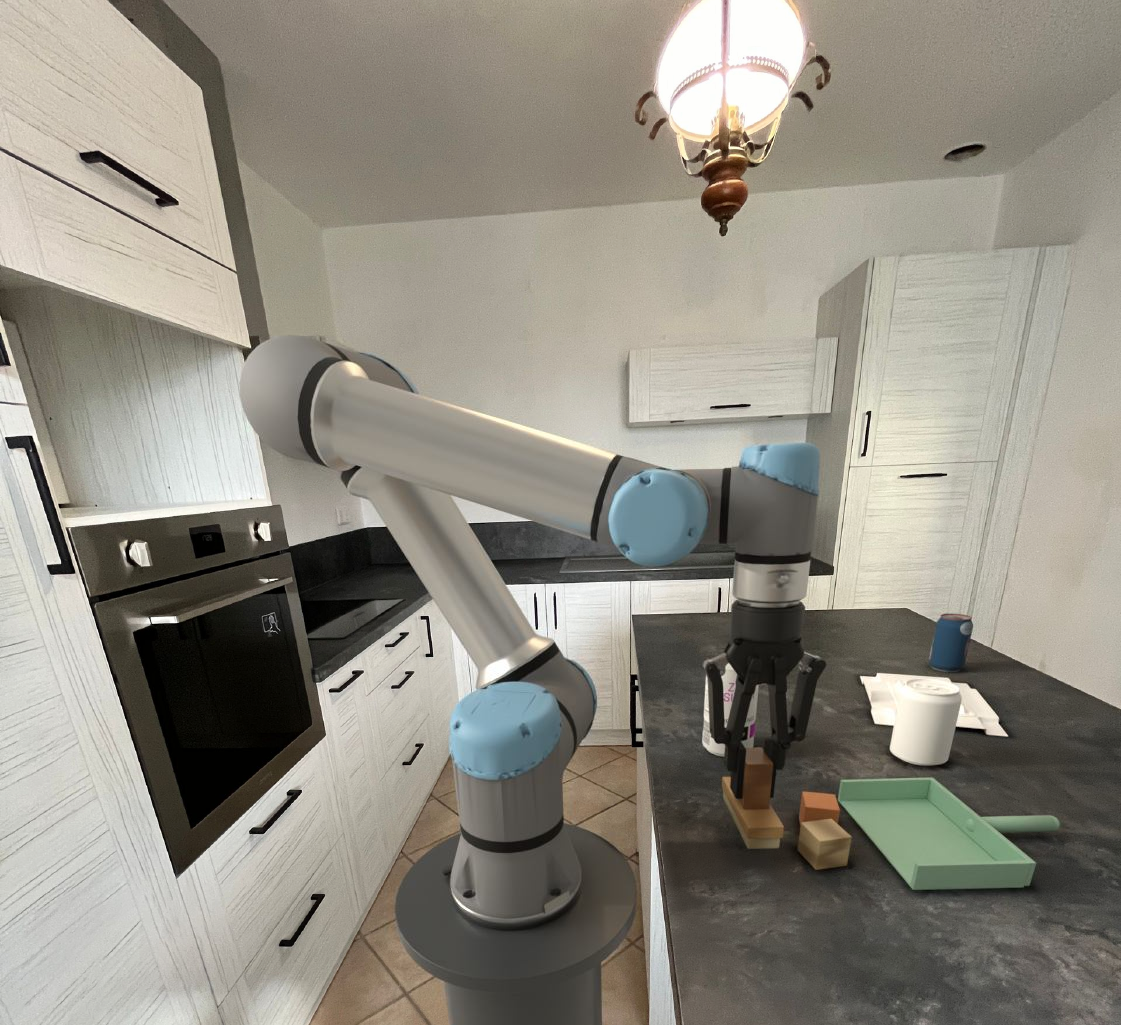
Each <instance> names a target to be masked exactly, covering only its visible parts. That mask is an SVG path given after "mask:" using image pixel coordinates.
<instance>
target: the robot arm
mask: <svg viewBox="0 0 1121 1025" xmlns="http://www.w3.org/2000/svg"><path fill="white" fill-rule="evenodd" d="M239 398H240V402H241V407H242V409H243V410H242V411H243V413H244V416H245V417H246V419H247V421H248V422H249V424H250V427H251V429H253V431H254V432H255V433H256V435H257V436H258V437H259V438H260V439H261V440H262V441H263V442H264V443H265V444H266V445H267V446H269V447H270V448H271V449H273V450H274V451H276V452H277V453H279V454H281V455H282V456H285V457H287V458H290V459H294V460H298V461H303V462H306V463H307V462H309V463H311V464H315V465H319V466H322V467H325V468H328V469H331V470H333V471H335V473H336V474H337V476H338V478H339V479H340V481H341V482H342V483H343V485H344V486H345V488H346V489H347V491H348V493H349V494H350V495H352V496H354V497H357V498H361V499H365V500H368V501H369V502H370V504H371V505H372V506H373V508H374V509H375V511H376V512H377V514H378V515H379V517H380V519H381V520H382V522H383V523H384V525H385V526H386V528H387V529H388V532H389V533H390V534H391V536H392V537H393V539H394V541H395V542H396V544H397V546H398V547H399V548H400V550H401V552H402V553H403V554H404V556H405V557H406V558H405V559H407V561H408V562H409V564H410V565H411V567H412V569H413V570H414V571H415V573H416V575H417V577H418V578H419V579H420V581H421V583H422V584H423V586H424V587H425V589H426V590H427V592H428V594H429V595H430V596H431V598H432V600H433V601H434V603H435V605H436V606H437V608H438V609H439V611H440V613H441V614H442V616H443V617H444V619H445V620H446V622H447V623H448V625H449V626H450V629H451V630H452V631H453V633H454V634H455V636H456V637H457V639H458V640H459V642H460V644H461V645H462V647H463V648H464V650H465V651H466V653H467V654H468V657H469V658H470V659H471V661H472V662H473V665H475V667H476V668H477V677H476V681H475V686H474V687H475V690H473V691H471V692H470V693H468V694H467V695H466V696H464V697H462V698H461V700H459V701H458V703H457V704H456V705H455V707H454V708H453V709H452V711H451V715H450V719H449V738H448V746H449V753H450V757H451V762H452V770H453V779H454V786H455V795H456V804H457V805H456V806H457V812H458V820H459V829H460V833H461V837H460V840H459V844H458V848H457V852H456V856H455V860H454V864H452V865H450V866H448V867H445V868H443V870H442V871H443V874H444V875H445V876H447V875H449V874H451V878H450V886H451V894H452V900H453V903H454V905H455V907H456V909H457V910H458V911H459V913H460V914H461V915H462V916H463V917H465V918H466V919H467V920H469V921H471V922H472V923H474V924H477V925H479V926H482V927H485V928H489V929H494V930H503V931H516V930H525V929H530V928H534V927H538V926H541V925H544V924H547V923H549V922H551V921H553V920H555V919H557V918H558V917H560V916H561V915H563V914H564V913H565V912H567V911H568V910H569V909H570V908H571V907H572V906H573V904H574V903H575V902H576V900H577V899H578V897H579V894H580V891H581V887H582V876H581V866H580V863H579V859H578V857H577V855H576V852H575V850H574V847H573V845H572V843H571V840H570V838H569V835H568V833H567V831H566V828H565V826H564V823H565V821H564V820H565V818H564V789H563V787H564V786H563V780H564V773H565V771H566V769H567V767H568V765H569V764H570V762H571V761H572V759H573V757H574V755H575V753H576V752H577V750H578V749H579V747H580V745H581V743H582V741H583V740H584V739H585V738H587V736H588V734H589V733H590V731H591V729H592V727H593V724H594V720H595V716H596V713H597V707H598V694H597V689H596V686H595V683H594V682H593V679H592V677H591V675H590V674H589V673H588V671H587V670H586V669H585V667H583V665H581V664H579V662H577V661H575V660H573V659H570V658H568V657H565V655H564V654H563V653H562V651H561V649H560V648H559V646H558V645H557V643H556V641H555V640H554V639H553V638H551V637H546V636H543V635H540V634H538V633H536V631H535V630H534V628H533V627H532V625H531V624H530V622H529V620H528V618H527V617H526V615H525V613H524V612H523V610H522V609H521V607H520V605H519V604H518V603H517V600H516V599H515V597H514V596H513V594H512V592H511V591H510V589H509V588H508V586H507V584H506V583H505V581H504V580H503V578H502V576H501V575H500V573H499V571H498V569H497V568H496V566H495V565H494V563H493V562H492V560H491V558H490V556H489V554H487V552H486V550H485V548H484V546H483V545H482V543H481V542H480V540H479V539H478V537H477V535H476V534H475V533H474V530H473V529H472V528H471V526H470V524H469V523H468V520H467V519H466V517H465V515H464V514H463V513H462V511H461V510H460V507H459V506H458V504H457V503H456V502H455V500H454V498H455V497H456V498H458V499H462V500H465V501H468V502H472V503H475V504H477V505H480V506H484V507H487V508H491V509H492V510H493V509H494V510H497V511H499V512H503V513H506V514H509V515H512V516H515V517H519V518H522V519H524V520H528V521H531V522H535V523H537V524H541V525H544V526H547V527H550V528H553V529H557V530H560V531H563V532H566V533H568V534H572V535H575V536H579V537H581V538H584V539H587V540H591V541H593V542H595V543H598V544H601V545H603V546H607V547H610V548H613V549H615V550H618V551H619V552H620V554H622V555H623V556H624V557H625V558H627V559H628V560H629V561H630V562H632V563H635V564H637V565H640V566H642V567H643V566H644V567H649V568H656V567H665V566H668V565H671V564H673V563H675V562H677V561H680V560H682V559H683V558H686V557H687V556H688V555H689V554H691V552H692V551H694V550H695V549H696V548H697V546H698V545H715V544H719V545H727V544H734V545H735V546H734V547H735V548H734V549H735V551H734V564H733V565H734V566H733V578H732V592H731V595H732V596H733V597H734V598H735V599H736V600H734V601H733V603H731V607H730V621H729V622H730V624H729V639H728V642H727V643H726V645H725V647H724V649H723V653H721V654H719V655H716V656H715V657H712V658H710V657H707V656H706V657H704V658H702V659H701V666H702V668H703V670H704V672H705V676H706V675H707V678H708V702H709V726H710V734H711V736H712V737H713V739H714V741H715V742H716V743H717V744H725V754H724V757H723V763H724V766H725V768H726V770H727V772H731V773H730V777H731V782H730V788H731V790H732V792H733V794H734V796H735V798H736V799H742V793H743V781H744V768H745V759H746V748H745V747H744V745H743V744H742V742H741V739H742V735H743V731H744V727H745V723H746V718H747V714H748V710H749V706H750V702H751V698H752V695H753V694H754V693H755V689H756V685H759V686H760V685H763V684H765V685H766V686H767V689H768V705H769V718H770V721H769V722H770V733H771V737H772V738H764V742H763V743H764V744H763V750H764V752H765V753H766V754H767V756H768V757H769V759H770V760H771V761H772V763H773V772H772V781H771V791H770V799H773V798H774V797H775V789H776V788H775V787H776V778H777V771H780V770H781V771H782V770H783V769H784V768H785V766H786V765H785V764H786V756H787V750H789V749H790V748H791V747H792V743H793V742H802V741H804V740H805V738H806V734H807V730H808V724H809V721H810V716H811V712H812V707H813V702H814V697H815V693H816V689H817V684H818V681H819V679H820V678H821V675H822V674H823V672H824V670H825V669H826V667H827V662H826V661H825V660H824V659H823V658H822V657H820V656H819V655H817V654H816V653H809V652H806V651H805V648H804V645H803V643H802V637H803V632H804V623H805V616H806V615H805V613H806V605H805V604H804V602H802V601H803V600H804V599H805V598H806V597H807V595H808V594H807V593H808V585H809V578H810V577H809V576H810V567H811V557H812V549H813V540H814V533H815V526H816V525H815V524H816V517H817V509H818V508H817V507H818V501H819V496H820V490H819V486H820V484H819V483H820V467H821V452H820V449H819V448H818V447H817V445H815V444H813V443H811V442H781V443H771V444H770V443H769V444H753V445H748V446H746V447H745V448H744V449H743V450H742V452H741V456H740V459H739V461H738V465H736V466H731V467H724V468H689V469H688V468H687V469H685V468H684V469H671V468H668V467H663V466H660V465H657V464H654V463H653V464H652V463H651V462H647V461H643V460H639V459H638V458H637V459H636V458H634V457H633V458H632V457H629V456H624V455H621V454H618V453H616V452H612V451H609V450H606V449H602V448H599V447H596V446H592V445H589V444H585V443H583V442H579V441H575V440H572V439H569V438H565V437H562V436H559V435H555V434H552V433H548V432H545V431H542V430H538V429H536V428H532V427H528V426H526V425H522V424H519V423H515V422H512V421H509V420H505V419H502V418H498V417H495V416H492V415H489V414H485V413H481V412H478V411H476V410H471V409H468V408H465V407H462V406H458V405H455V404H451V403H448V402H445V401H442V400H438V399H435V398H432V397H428V396H425V395H422V394H420V393H419V391H418V389H417V387H416V386H415V384H414V383H413V382H412V380H411V379H410V378H409V376H408V375H406V374H405V373H404V372H403V371H402V370H400V369H399V368H398V367H396V366H394V365H393V364H391V363H389V362H387V361H386V360H385V359H383V358H382V357H378V356H376V355H373V354H370V353H365V352H359V351H357V352H356V351H353V350H350V349H347V348H344V347H340V346H337V345H334V344H331V343H328V342H324V341H320V340H318V339H316V338H311V337H308V336H305V335H304V336H303V335H295V334H284V335H283V334H282V335H279V336H274V337H271V338H269V339H267V340H265V341H263V342H262V343H260V344H258V345H256V347H255V348H254V349H253V350H252V351H251V352H250V353H249V354H248V356H247V358H246V359H245V361H244V363H243V366H242V369H241V372H240V377H239ZM453 497H454V498H453ZM728 663H729V664H730V665H731V667H732V668H733V669H734V671H735V672H736V674H737V677H736V688H735V692H734V697H733V701H732V705H731V710H730V714H729V718H728V722H727V727H726V731H725V723H724V691H723V681H722V678H721V676H723V675H724V674H725V672H726V670H725V667H726V665H727V664H728ZM797 665H798V670H799V672H798V675H797V678H796V684H795V689H794V693H793V697H792V703H791V708H790V712H789V717H788V704H787V692H788V681H787V680H788V679H787V678H788V675H789V674H790V673H791V672H792V671H793V670H794V668H796V666H797Z"/></svg>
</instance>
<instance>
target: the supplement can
mask: <svg viewBox="0 0 1121 1025" xmlns="http://www.w3.org/2000/svg"><path fill="white" fill-rule="evenodd" d="M725 670H726V672H725V674H724V675H723V676H721V678H722V681H723V691H724V723H725V731H726V727H727V722H728V718H729V714H730V710H731V705H732V701H733V697H734V692H735V688H736V677H737V674H736V672H735V671H734V669H733V668H732V667H731V665H730V664H729V663H728V664H727V665H726V667H725ZM704 684H705V686H704V702H703V720H702V721H703V723H702V742H701V743H702V746H703V747H704V748H705V749H706V750H707V751H708V752H709V753H710V754H713V755H715V756H718V757H723V758H724V754H725V744H717V743H716V742H715V741H714V739H713V737H712V736H711V734H710V726H709V702H708V678H707V675H706V674H705V683H704ZM759 686H760V685H756V689H755V693H754V694H753V695H752V698H751V702H750V706H749V710H748V714H747V718H746V723H745V727H744V731H743V735H742V739H741V742H742V744H743V745H744V747H745V748H754V740H755V732H756V731H755V730H756V718H757V707H758V696H759Z"/></svg>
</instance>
